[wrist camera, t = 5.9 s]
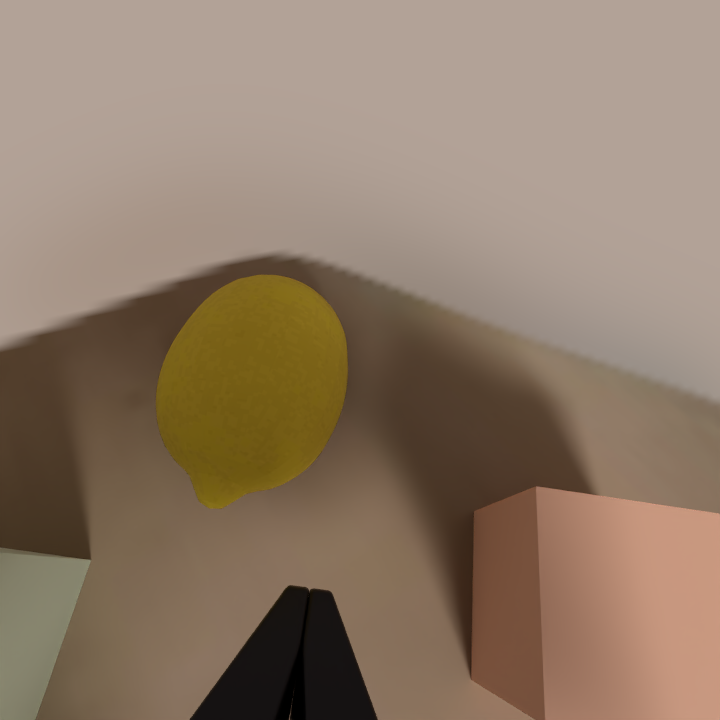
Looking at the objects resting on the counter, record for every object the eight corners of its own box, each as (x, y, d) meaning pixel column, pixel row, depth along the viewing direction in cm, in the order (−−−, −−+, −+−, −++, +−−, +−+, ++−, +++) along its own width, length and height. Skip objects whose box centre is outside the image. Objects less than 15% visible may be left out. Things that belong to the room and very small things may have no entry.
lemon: (190, 523, 16) (265, 334, 20) (338, 549, 14) (388, 331, 18) (56, 459, 11) (188, 235, 16) (240, 482, 9) (337, 216, 13)
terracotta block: (627, 699, 14) (771, 755, 10) (470, 679, 14) (545, 726, 10) (609, 531, 17) (721, 513, 12) (473, 511, 16) (535, 486, 12)
